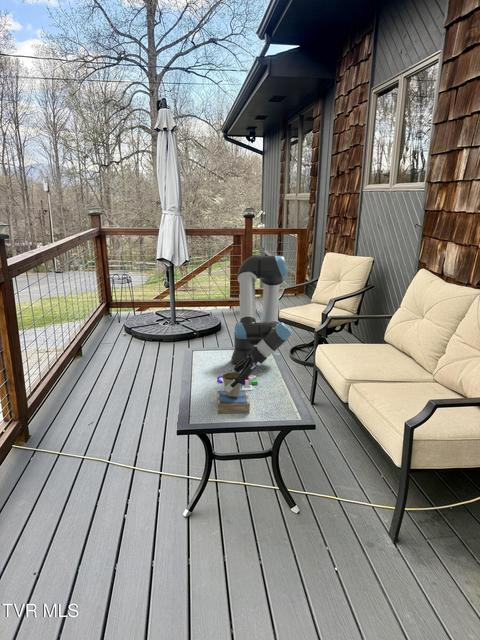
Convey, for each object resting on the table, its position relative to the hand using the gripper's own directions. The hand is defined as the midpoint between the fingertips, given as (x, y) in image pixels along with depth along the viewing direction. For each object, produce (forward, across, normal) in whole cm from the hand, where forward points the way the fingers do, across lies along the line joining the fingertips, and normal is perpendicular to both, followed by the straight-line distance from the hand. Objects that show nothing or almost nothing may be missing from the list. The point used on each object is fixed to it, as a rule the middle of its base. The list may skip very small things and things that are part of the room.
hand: (225, 385), depth 190 cm
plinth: (+5, 0, -9) cm, 11 cm away
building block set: (+3, +29, -13) cm, 32 cm away
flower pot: (+1, 0, -5) cm, 5 cm away
